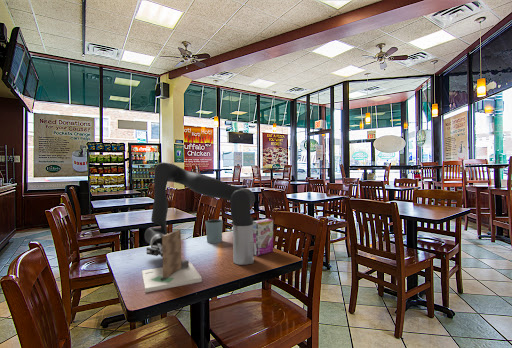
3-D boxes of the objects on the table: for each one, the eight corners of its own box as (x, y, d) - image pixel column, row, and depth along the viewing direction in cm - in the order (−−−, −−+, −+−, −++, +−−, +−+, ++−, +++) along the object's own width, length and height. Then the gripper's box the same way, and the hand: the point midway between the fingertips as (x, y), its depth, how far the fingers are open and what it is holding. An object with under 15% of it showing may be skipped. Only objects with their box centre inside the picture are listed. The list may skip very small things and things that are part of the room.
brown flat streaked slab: (181, 264, 121) (180, 227, 121) (190, 265, 120) (189, 227, 119) (156, 279, 105) (155, 237, 104) (166, 281, 103) (165, 237, 103)
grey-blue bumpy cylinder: (209, 244, 156) (208, 223, 156) (203, 240, 165) (202, 220, 165) (225, 242, 161) (225, 221, 161) (219, 238, 170) (219, 218, 169)
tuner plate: (190, 266, 124) (190, 262, 124) (201, 281, 107) (201, 277, 107) (141, 274, 115) (141, 270, 115) (145, 292, 98) (145, 288, 98)
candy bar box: (257, 256, 135) (256, 222, 135) (250, 254, 139) (250, 221, 138) (274, 251, 143) (273, 219, 142) (267, 249, 146) (266, 218, 146)
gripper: (143, 236, 121) (146, 247, 105) (175, 233, 126) (182, 243, 111) (144, 254, 121) (147, 267, 105) (175, 249, 127) (182, 261, 111)
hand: (165, 255), depth 108 cm, fingers closed
